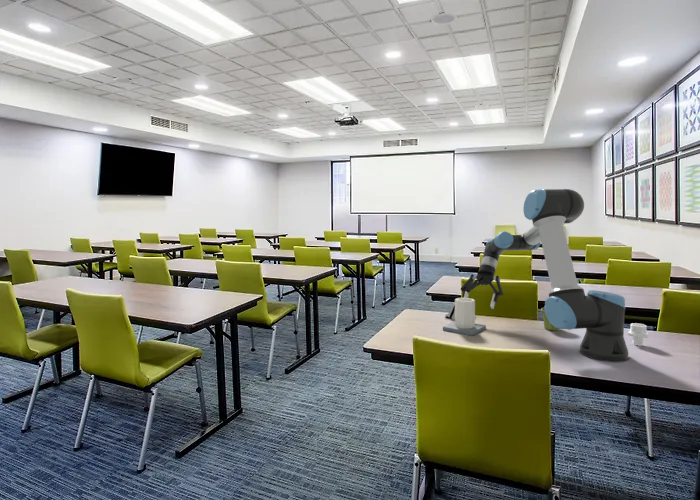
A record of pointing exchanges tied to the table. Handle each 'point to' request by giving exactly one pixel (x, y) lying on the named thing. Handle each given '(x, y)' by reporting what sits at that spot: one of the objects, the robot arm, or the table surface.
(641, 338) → the white figurine planter
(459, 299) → the white faceted cup
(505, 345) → the table surface
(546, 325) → the plant pot
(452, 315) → the grey curved piece
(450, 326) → the post base
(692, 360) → the table surface
